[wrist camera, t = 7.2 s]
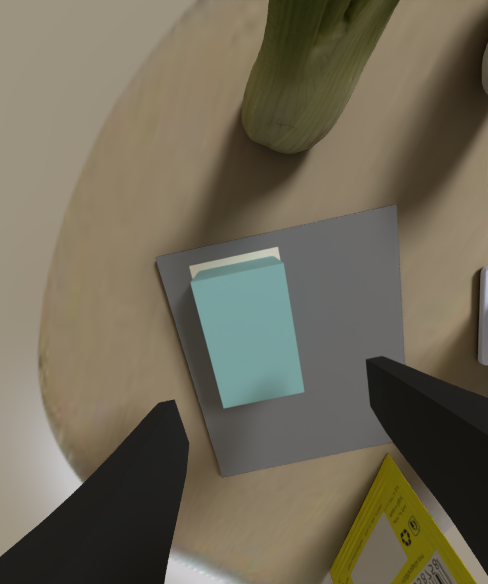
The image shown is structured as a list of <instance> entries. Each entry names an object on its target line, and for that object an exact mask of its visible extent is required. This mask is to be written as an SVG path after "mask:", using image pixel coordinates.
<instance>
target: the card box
mask: <svg viewBox="0 0 488 584" xmlns="http://www.w3.org/2000/svg"><path fill="white" fill-rule="evenodd" d="M190 283H191V287H192V291H193V294H194V298H195V302H196V306H197V309H198V313H199V317H200V321H201V325H202V328H203V332H204V336H205V340H206V343H207V347H208V351H209V355H210V359H211V362H212V366H213V370H214V374H215V377H216V381H217V385H218V389H219V393H220V396H221V400H222V404H223V408H229V407H233V406H238V405H243V404H248V403H253V402H258V401H263V400H268V399H273V398H278V397H283V396H288V395H293V394H298V393H303V392H304V386H303V379H302V373H301V367H300V361H299V355H298V348H297V342H296V336H295V330H294V324H293V318H292V311H291V305H290V299H289V293H288V287H287V281H286V274H285V268H284V263H283V262H281V261H280V260H279V259H277V258H276V257H274V256H268V257H263V258H259V259H254V260H249V261H244V262H239V263H235V264H230V265H225V266H220V267H215V268H211V269H206V270H201V271H199V272H198V273H197V274H196V276H195V277H194V278H193V280H192V281H191V282H190Z"/></svg>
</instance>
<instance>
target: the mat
mask: <svg viewBox="0 0 488 584" xmlns="http://www.w3.org/2000/svg"><path fill="white" fill-rule="evenodd" d="M268 256H274V257H276V258H277V259H279V260H280V261H281V262H283V263H284V268H285V274H286V281H287V287H288V293H289V299H290V305H291V311H292V318H293V324H294V330H295V336H296V342H297V348H298V355H299V361H300V367H301V373H302V379H303V386H304V392H303V393H298V394H293V395H288V396H283V397H278V398H273V399H268V400H263V401H258V402H253V403H248V404H243V405H238V406H233V407H229V408H223V404H222V400H221V396H220V393H219V389H218V385H217V381H216V377H215V374H214V370H213V366H212V362H211V359H210V355H209V351H208V347H207V343H206V340H205V336H204V332H203V328H202V325H201V321H200V317H199V313H198V309H197V306H196V302H195V298H194V294H193V291H192V287H191V283H190V282H191V281H192V280H193V278H194V277H195V276H196V274H197V273H198V272H199V271H201V270H206V269H211V268H215V267H220V266H225V265H230V264H235V263H239V262H244V261H249V260H254V259H259V258H263V257H268ZM155 259H156V262H157V265H158V268H159V272H160V275H161V278H162V281H163V285H164V288H165V291H166V295H167V298H168V301H169V304H170V308H171V311H172V314H173V317H174V321H175V324H176V327H177V331H178V334H179V337H180V340H181V344H182V347H183V350H184V354H185V357H186V360H187V363H188V367H189V370H190V373H191V376H192V380H193V383H194V386H195V390H196V393H197V396H198V399H199V403H200V406H201V409H202V412H203V416H204V419H205V422H206V426H207V429H208V432H209V435H210V439H211V442H212V445H213V448H214V452H215V455H216V458H217V462H218V465H219V468H220V471H221V475H222V478H223V477H228V476H233V475H237V474H242V473H247V472H252V471H257V470H261V469H266V468H271V467H276V466H281V465H286V464H290V463H295V462H300V461H305V460H310V459H314V458H319V457H324V456H329V455H334V454H339V453H343V452H348V451H353V450H358V449H363V448H367V447H372V446H377V445H382V444H387V443H391V442H393V441H392V440H391V439H390V437H389V436H388V435H387V433H386V432H385V430H384V429H383V427H382V425H381V424H380V422H379V420H378V419H377V417H376V415H375V413H374V412H373V410H372V408H371V407H370V400H369V390H368V380H367V370H366V359H369V358H374V357H379V356H384V357H387V358H389V359H392V360H394V361H397V362H399V363H401V364H404V365H405V355H404V336H403V316H402V297H401V277H400V258H399V238H398V219H397V205H391V206H386V207H382V208H377V209H373V210H368V211H363V212H359V213H354V214H350V215H345V216H341V217H336V218H332V219H327V220H323V221H318V222H313V223H309V224H304V225H300V226H295V227H291V228H286V229H282V230H277V231H273V232H268V233H264V234H259V235H254V236H250V237H245V238H241V239H236V240H232V241H227V242H223V243H218V244H214V245H209V246H205V247H200V248H195V249H191V250H186V251H182V252H177V253H173V254H168V255H164V256H159V257H156V258H155Z"/></svg>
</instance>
